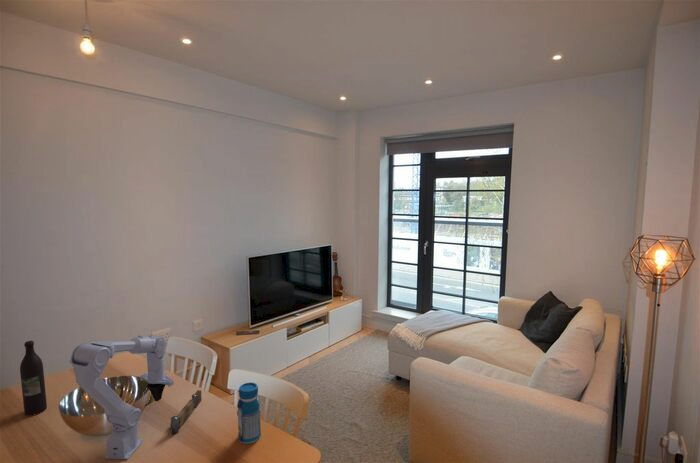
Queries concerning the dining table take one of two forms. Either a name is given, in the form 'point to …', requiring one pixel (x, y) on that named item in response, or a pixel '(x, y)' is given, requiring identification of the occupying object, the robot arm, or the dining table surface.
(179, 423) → the handle
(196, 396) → the hammer
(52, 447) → the dining table surface
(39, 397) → the wine bottle
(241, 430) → the beverage bottle
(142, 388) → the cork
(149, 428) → the dining table surface
